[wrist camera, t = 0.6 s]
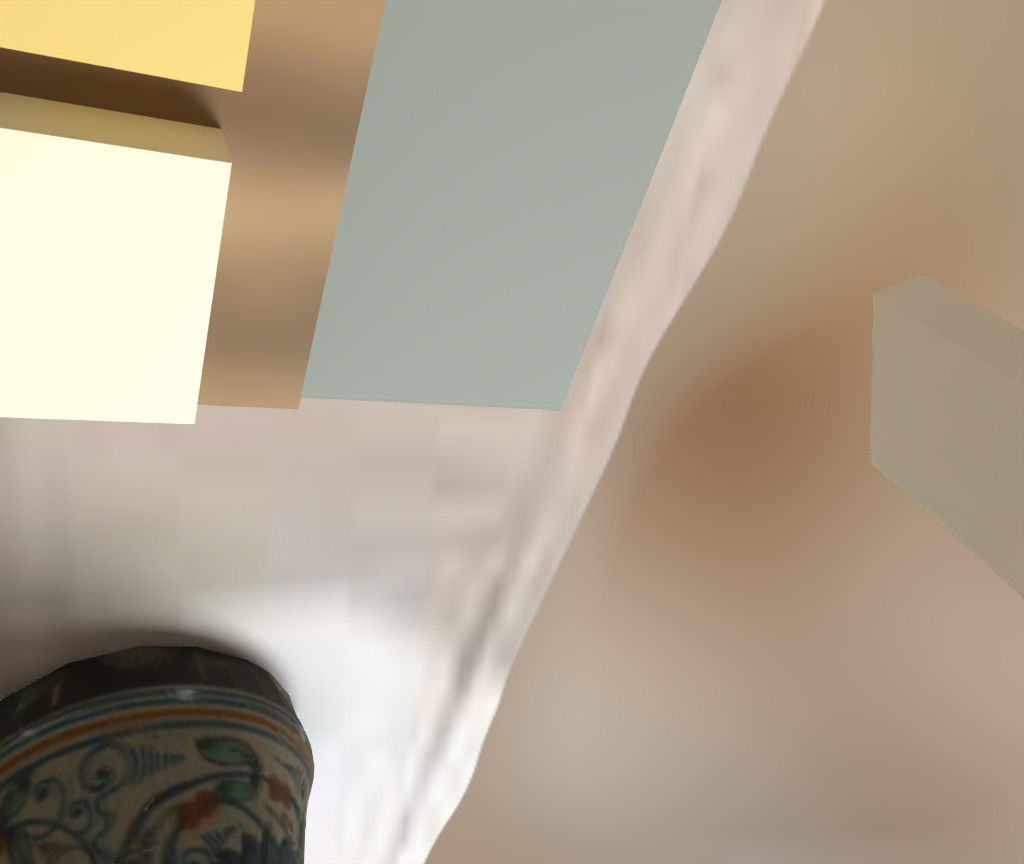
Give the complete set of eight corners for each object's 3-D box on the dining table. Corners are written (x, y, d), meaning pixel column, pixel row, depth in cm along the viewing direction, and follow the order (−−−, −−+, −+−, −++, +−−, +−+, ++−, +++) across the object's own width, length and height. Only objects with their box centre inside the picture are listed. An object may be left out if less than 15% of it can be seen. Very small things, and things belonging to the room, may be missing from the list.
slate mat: (439, -359, 25) (448, -358, 25) (789, -210, 31) (803, -207, 30) (288, 385, 38) (291, 397, 38) (553, 399, 44) (560, 410, 43)
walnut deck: (-221, -574, 20) (-258, -599, 18) (420, -317, 26) (451, -312, 24) (-144, 335, 31) (-160, 388, 29) (285, 363, 38) (298, 408, 35)
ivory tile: (-10, 90, 26) (-16, 125, 24) (221, 129, 28) (231, 163, 26) (-11, 369, 30) (-16, 416, 29) (187, 380, 33) (194, 424, 31)
